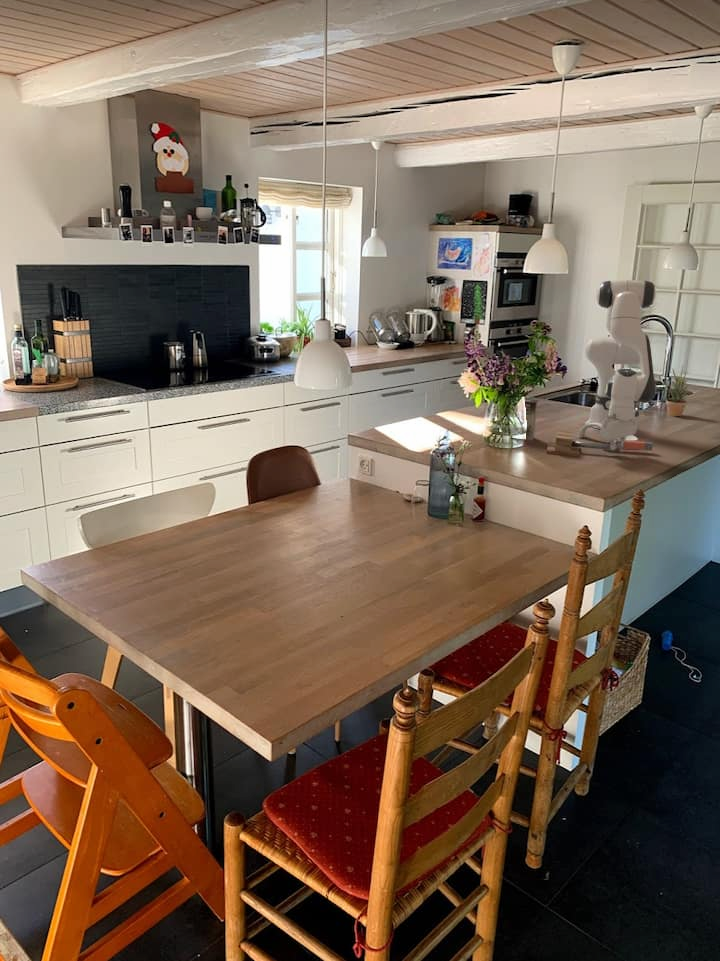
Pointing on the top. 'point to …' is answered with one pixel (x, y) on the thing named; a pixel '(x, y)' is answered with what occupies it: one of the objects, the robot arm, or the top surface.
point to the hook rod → (598, 445)
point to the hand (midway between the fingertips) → (616, 448)
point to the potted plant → (677, 396)
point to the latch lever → (637, 445)
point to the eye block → (563, 445)
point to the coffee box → (530, 417)
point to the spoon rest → (582, 431)
